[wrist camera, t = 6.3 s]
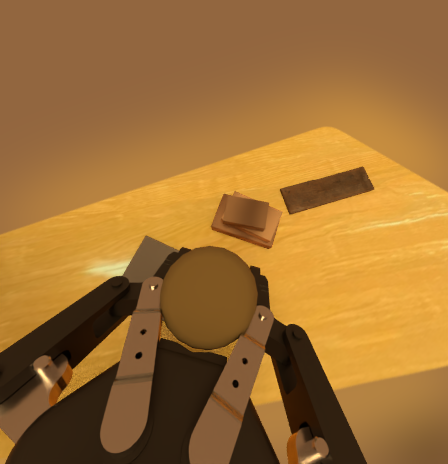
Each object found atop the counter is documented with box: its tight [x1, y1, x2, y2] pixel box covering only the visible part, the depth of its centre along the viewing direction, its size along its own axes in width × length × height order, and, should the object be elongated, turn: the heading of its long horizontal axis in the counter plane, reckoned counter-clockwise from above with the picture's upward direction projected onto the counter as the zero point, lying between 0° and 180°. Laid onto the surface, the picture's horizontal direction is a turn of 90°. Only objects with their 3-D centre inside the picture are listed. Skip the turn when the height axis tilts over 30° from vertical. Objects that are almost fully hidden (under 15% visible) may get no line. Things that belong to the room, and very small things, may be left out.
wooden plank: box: [280, 167, 374, 214], centre depth 33 cm, size 17×1×5 cm
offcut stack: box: [211, 191, 282, 249], centre depth 28 cm, size 10×6×5 cm, turn 71°
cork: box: [160, 246, 258, 350], centre depth 14 cm, size 6×6×11 cm
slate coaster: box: [123, 236, 179, 321], centre depth 28 cm, size 10×10×1 cm
